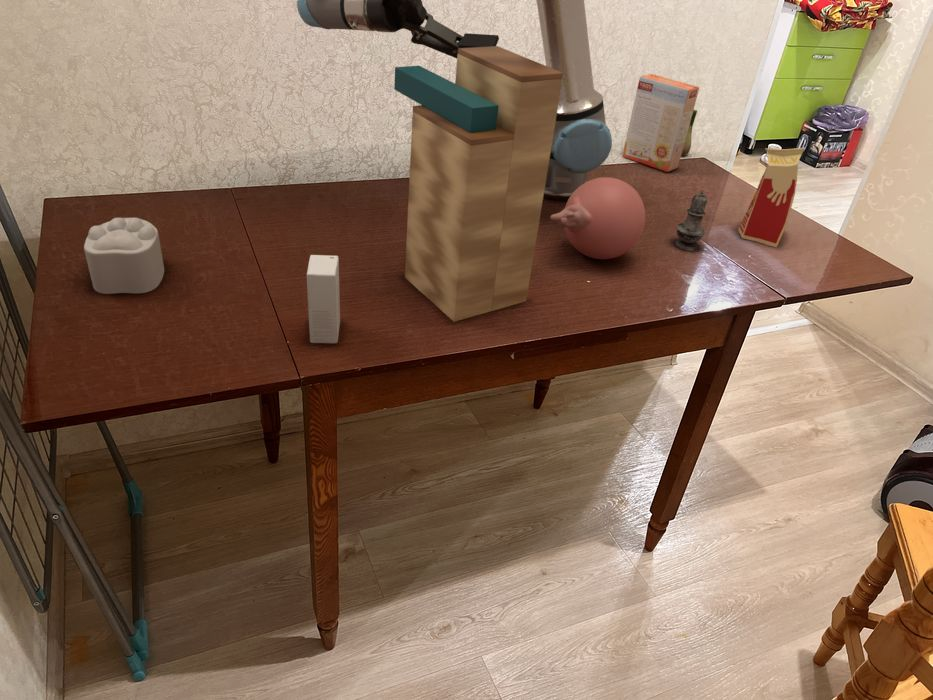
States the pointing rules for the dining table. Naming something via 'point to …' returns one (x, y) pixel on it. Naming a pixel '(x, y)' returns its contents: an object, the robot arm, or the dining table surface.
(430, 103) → the long teal rectangular block
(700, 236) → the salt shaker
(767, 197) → the red printed carton
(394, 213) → the dining table surface
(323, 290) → the cosmetic box
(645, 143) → the cracker box
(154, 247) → the lumpy-topped squat cylinder
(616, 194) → the balloon
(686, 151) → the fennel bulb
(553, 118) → the step stand
